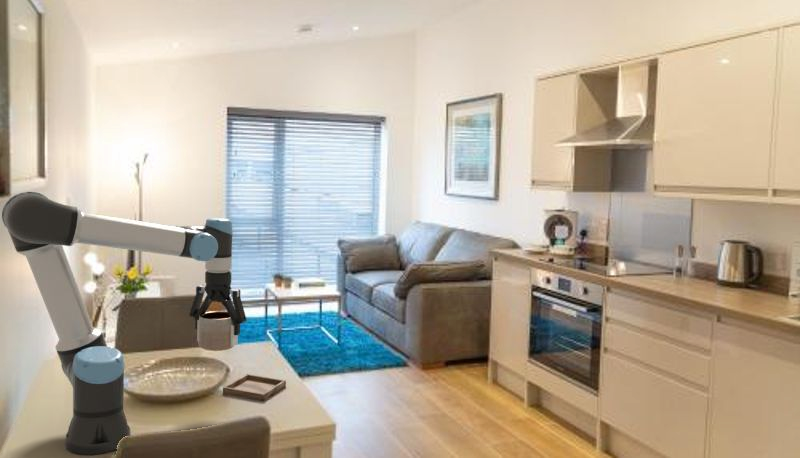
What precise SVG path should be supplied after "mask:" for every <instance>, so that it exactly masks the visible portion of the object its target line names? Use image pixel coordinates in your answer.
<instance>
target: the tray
mask: <svg viewBox="0 0 800 458" xmlns="http://www.w3.org/2000/svg"><path fill="white" fill-rule="evenodd" d="M286 386H287V380H286V379H285V380H284V379H279V378H273V377H267V376H262V375H256V374H255V375H254V374H250V373H247V374H245V375H243V376H241V377H239V378H238V379H236V380H234V381H232V382H230V383H228V384H227V385H225V386H223V387H222V394H224V395H228V396H233V397H240V398H245V399H251V400H255V401H261V402H265V401H266V400H268V399H269V398H270V397H272V396H274V395H275V394H277V393H278V392H280V391H282V390H283V389H284V388H286Z"/></svg>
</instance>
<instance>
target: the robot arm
mask: <svg viewBox="0 0 800 458" xmlns="http://www.w3.org/2000/svg"><path fill="white" fill-rule="evenodd" d="M1 220H2V223H3V225H4V226H5V228H6V229H7V231H8V234H9V236H10V238H11V239H10V240H12V244H13V247H14V250H15V251H16V253H18V254H20V255H23V256H24V257H26V260H27V262H28V265H29V268H30V270H31V273H32V274H33V275H32V276H33V277H34V280H35V283H36V285H37V288H38V291H39V293H40V296H41V297H42V300H43V303H44V305H45V307H46V310H47V312H48V313H47V314H48V315H49V318H50V320H51V323H52V325H53V327H54V330H55V333H56V335H57V338H58V341H57V343H56V345H55V350H56V353H57V356H58V358H59V360H60V363H61V369H62V371H63V374H64V375H65V376H66V378H67V379H68V381H69V382H70V385H71V386H72V395H73V396H72V409H73V410H72V411H73V413H72V417H71V421H70V423H69V426H68V430H67V433H66V434H65V439H64V442H65V443H64V445H65V448H66V450H67V451H68V452H70V453H73V454H76V455H85V456H86V455H87V456H89V455H100V454H107V453H110V452H114V451H117V450H116V448H117V445H118V443H119V441H120V440H121V439H122V438H123V437H125V436H130V437H131V428H130V426H129V424H128V421H127V416H126V414H125V410H124V402H125V401H124V396H125V395H124V394H125V393H124V392H125V391H124V389H125V387H124V386H125V383H124V381H125V369H126V367H125V360H124V356H123V353H122V352H121V351H120V350H119V349H117V348H115V347H110V346H108V345H107V342H106V339H105V337H104V335H103V331H102V330H101V329H99V328H97V327H95V326H93V323H92V320H91V318H90V315H89V313H88V310H87V308H86V304H85V302H84V299H83V297H82V294H81V291H80V289H79V286H78V284H77V281H76V278H75V276H74V273H73V270H72V267H71V265H70V263H69V260H68V257H67V254H66V251H65V249H64V247H63V246H66V247H72V246H74V245H75V244H83V245H91V246H99V247H106V248H112V249H114V248H115V249H121V250H126V251H127V250H129V251H135V252H144V253H153V254H159V255H167V256H174V257H179V258H186V259H188V258H189V259H192V260H193V259H194V260H195V261H199V262H204V264H205V266H204V268H205V270H206V271H205V272H204V273H205V274H204V276H205V277H204V282H205V285H203V284H200V285H198V286H196V288H195V296H194V299H193V302H192V305H191V309H190V311H189V315H188V316H189V317H192V318H194V321H195V327H194V328H195V330H196V332H197V334H196V335H197V336H196V337H197V338H196V342H198V339H199V315H200V314H202V313H205V312H208V309H209V307H210V306H211V304H212V303H213V302H217V303H221V305H222V306H224V308H225V311H227V312H228V314H229V316H230V318H231V320H232V322H233V324H232V325H231V343H230V346H232V348H234V347H235V346H237V345H238V344H239V343H238V342H239V341H238V340H239V339H238V338H239V335H240V333H241V324H243V323H246V322H247V316H246V313H245V309H244V307H243V302H242V299H241V292H242V291H241V289H238V288H237V289H232V286H231V284H232V271H231V270H232V265H233V264H232V258H233V257H232V256H233V255H232V251H233V235H234V234H233V223H232V222H233V221H232V220H230V219H229V218H223V217H212V218H207V219H206V220H205V225H188V226H187V225H186V226H184V225H183V226H181V225H180V226H178V225H175V226H171V225H170V226H168V225H163V224H162V225H161V224H157V223H151V222H150V223H149V222H143V221H139V220H132V219H127V218H126V219H125V218H120V217H113V216H108V215H101V214H97V213H96V214H95V213H89V212H83V211H82V210H81V209H80V208H79V206H78V207H77V206H71V205H66V204H63V203H59V202H58V201H54V200H52V199H49V198H48V197H47V196H45V195H44V194H42V193H40V192H35V191H26V192H20V193H17V194H15V195H14V196H12V197H10V198H9V199H8V200H7V201H6V203H5V204H4V206H3V207H2V211H1ZM205 293H206V296H205ZM204 296H205V298H204ZM231 297H232V298H231ZM203 298H204V299H203ZM233 346H234V347H233Z"/></svg>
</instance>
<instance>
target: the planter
mask: <svg viewBox="0 0 800 458" xmlns="http://www.w3.org/2000/svg"><path fill="white" fill-rule="evenodd" d="M232 324H233V322H232V320H231V318H230V316H229V314H228V312H227V310H214V311H213V310H211V311H206V312H205V313H202V314H200V315H199V339H198V341H197V342H198V344H197V345H198V346H199V348H200V349H202V350H205V351H210V352H211V351H213V352H219V351H222V352H223V351H226V350H227V351H228V350H230V349H232V348H234V347H235V346H233V347H232V346H230V343H231V325H232Z"/></svg>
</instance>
